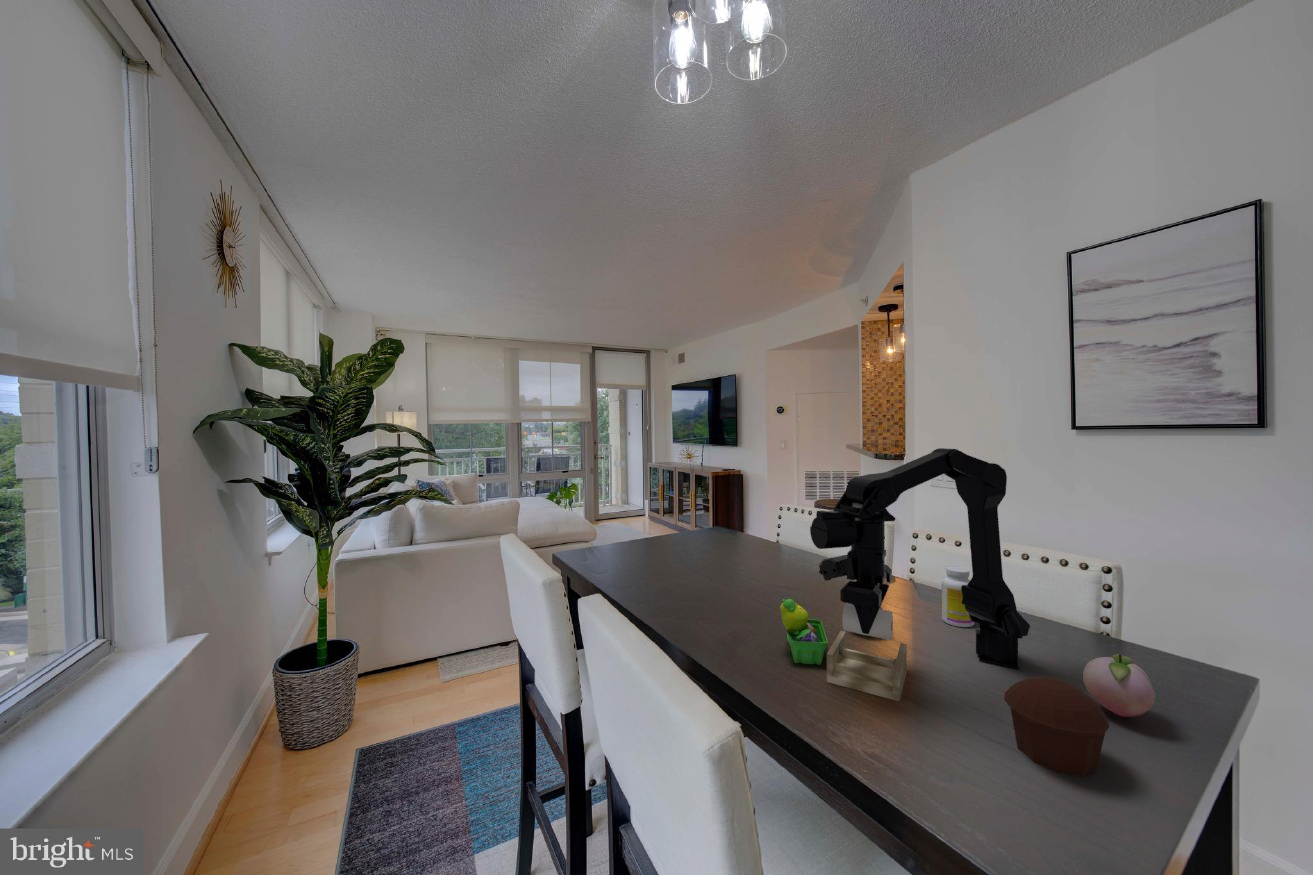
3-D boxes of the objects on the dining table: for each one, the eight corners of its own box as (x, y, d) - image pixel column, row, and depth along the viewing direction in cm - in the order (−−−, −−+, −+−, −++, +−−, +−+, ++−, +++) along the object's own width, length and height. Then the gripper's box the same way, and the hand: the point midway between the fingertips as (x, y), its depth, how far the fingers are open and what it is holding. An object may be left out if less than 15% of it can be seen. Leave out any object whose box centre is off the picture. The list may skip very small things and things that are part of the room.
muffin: (1059, 728, 74) (1060, 664, 74) (1133, 780, 63) (1134, 705, 63) (985, 730, 74) (985, 666, 74) (1046, 784, 63) (1046, 708, 63)
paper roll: (893, 634, 90) (893, 607, 90) (890, 644, 86) (890, 616, 86) (847, 625, 94) (847, 599, 94) (841, 634, 90) (841, 607, 90)
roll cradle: (906, 671, 92) (906, 644, 92) (899, 701, 82) (899, 671, 82) (840, 655, 98) (840, 630, 98) (826, 681, 88) (826, 653, 88)
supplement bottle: (980, 628, 111) (981, 573, 111) (951, 628, 111) (952, 573, 111) (963, 617, 118) (963, 565, 118) (935, 617, 118) (935, 565, 118)
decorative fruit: (1081, 694, 84) (1081, 637, 83) (1148, 711, 78) (1149, 650, 78) (1084, 719, 76) (1085, 657, 76) (1158, 740, 71) (1159, 673, 71)
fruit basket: (828, 668, 93) (828, 611, 93) (781, 664, 95) (781, 608, 95) (821, 643, 104) (820, 591, 104) (778, 639, 106) (778, 589, 106)
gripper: (834, 531, 102) (834, 604, 102) (810, 550, 86) (810, 637, 86) (892, 537, 96) (892, 614, 96) (878, 559, 80) (878, 652, 80)
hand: (867, 628), depth 90 cm, fingers closed on paper roll, 5 cm apart
